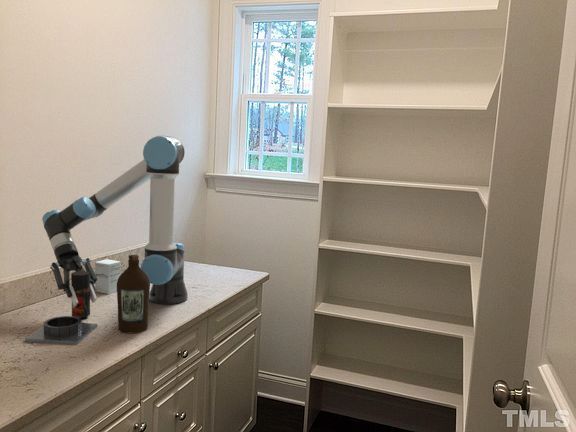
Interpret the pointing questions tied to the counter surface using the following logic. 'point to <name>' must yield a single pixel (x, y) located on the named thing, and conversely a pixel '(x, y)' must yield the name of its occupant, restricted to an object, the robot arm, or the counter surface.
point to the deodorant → (81, 293)
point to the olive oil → (133, 298)
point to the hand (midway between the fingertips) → (85, 302)
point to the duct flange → (62, 331)
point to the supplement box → (107, 276)
